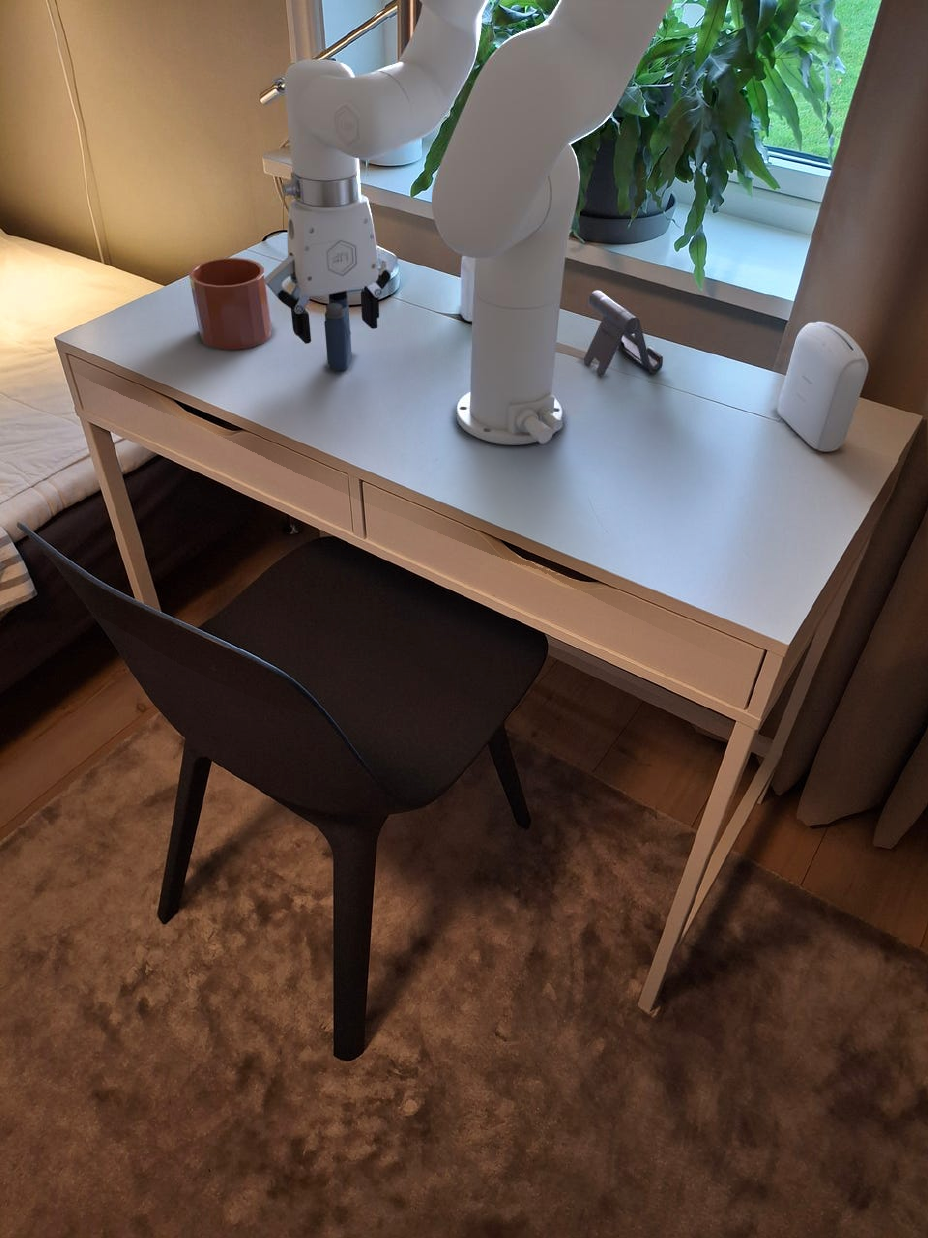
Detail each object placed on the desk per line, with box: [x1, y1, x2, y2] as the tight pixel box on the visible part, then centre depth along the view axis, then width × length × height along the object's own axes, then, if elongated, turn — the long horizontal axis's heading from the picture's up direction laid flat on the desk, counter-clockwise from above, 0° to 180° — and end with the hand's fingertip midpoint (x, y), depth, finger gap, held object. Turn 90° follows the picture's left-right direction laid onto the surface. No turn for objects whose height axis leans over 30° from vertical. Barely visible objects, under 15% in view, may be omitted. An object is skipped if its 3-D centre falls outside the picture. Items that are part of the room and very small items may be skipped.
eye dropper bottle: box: [459, 255, 475, 322], centre depth 127 cm, size 4×6×12 cm
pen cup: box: [189, 257, 273, 351], centre depth 122 cm, size 9×9×8 cm
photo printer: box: [777, 321, 869, 452], centre depth 106 cm, size 10×4×12 cm, turn 14°
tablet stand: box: [583, 290, 664, 377], centre depth 118 cm, size 9×8×8 cm
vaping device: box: [323, 291, 353, 372], centre depth 115 cm, size 3×5×12 cm, turn 174°
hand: (337, 331), depth 117 cm, fingers open, 8 cm apart
